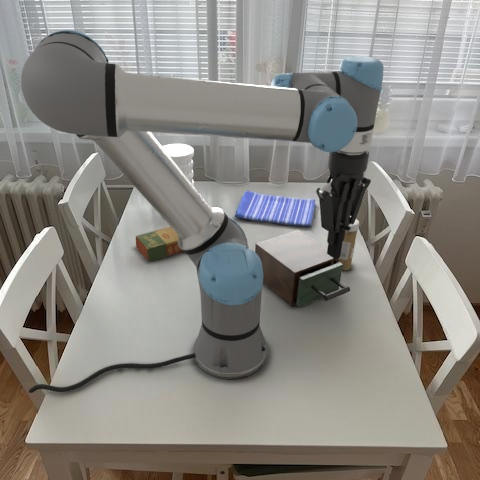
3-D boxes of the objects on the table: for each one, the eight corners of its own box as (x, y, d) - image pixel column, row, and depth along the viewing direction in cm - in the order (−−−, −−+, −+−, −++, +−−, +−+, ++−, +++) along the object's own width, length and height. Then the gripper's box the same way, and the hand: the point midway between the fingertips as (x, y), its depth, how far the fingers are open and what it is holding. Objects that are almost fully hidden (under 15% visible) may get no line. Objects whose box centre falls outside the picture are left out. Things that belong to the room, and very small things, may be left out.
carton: (201, 247, 138) (200, 233, 135) (148, 262, 131) (146, 248, 128) (187, 234, 143) (187, 221, 140) (136, 248, 136) (134, 234, 134)
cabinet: (333, 289, 123) (339, 256, 117) (291, 306, 117) (294, 272, 111) (295, 261, 133) (298, 229, 127) (253, 275, 127) (255, 243, 121)
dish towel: (244, 196, 164) (245, 188, 162) (315, 204, 160) (316, 196, 158) (233, 220, 151) (233, 211, 149) (310, 229, 147) (311, 220, 145)
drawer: (355, 303, 117) (361, 276, 112) (315, 320, 111) (319, 292, 106) (301, 264, 130) (304, 238, 125) (263, 278, 124) (264, 251, 119)
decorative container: (186, 195, 164) (184, 141, 153) (203, 208, 156) (202, 152, 145) (155, 202, 159) (149, 147, 148) (170, 217, 151) (166, 159, 140)
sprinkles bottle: (354, 267, 131) (363, 222, 122) (341, 272, 129) (350, 226, 120) (342, 260, 134) (350, 215, 125) (330, 264, 132) (337, 219, 123)
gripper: (337, 161, 88) (322, 271, 103) (388, 148, 94) (366, 254, 109) (310, 149, 93) (299, 256, 108) (360, 137, 99) (343, 240, 113)
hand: (333, 255), depth 108 cm, fingers closed
